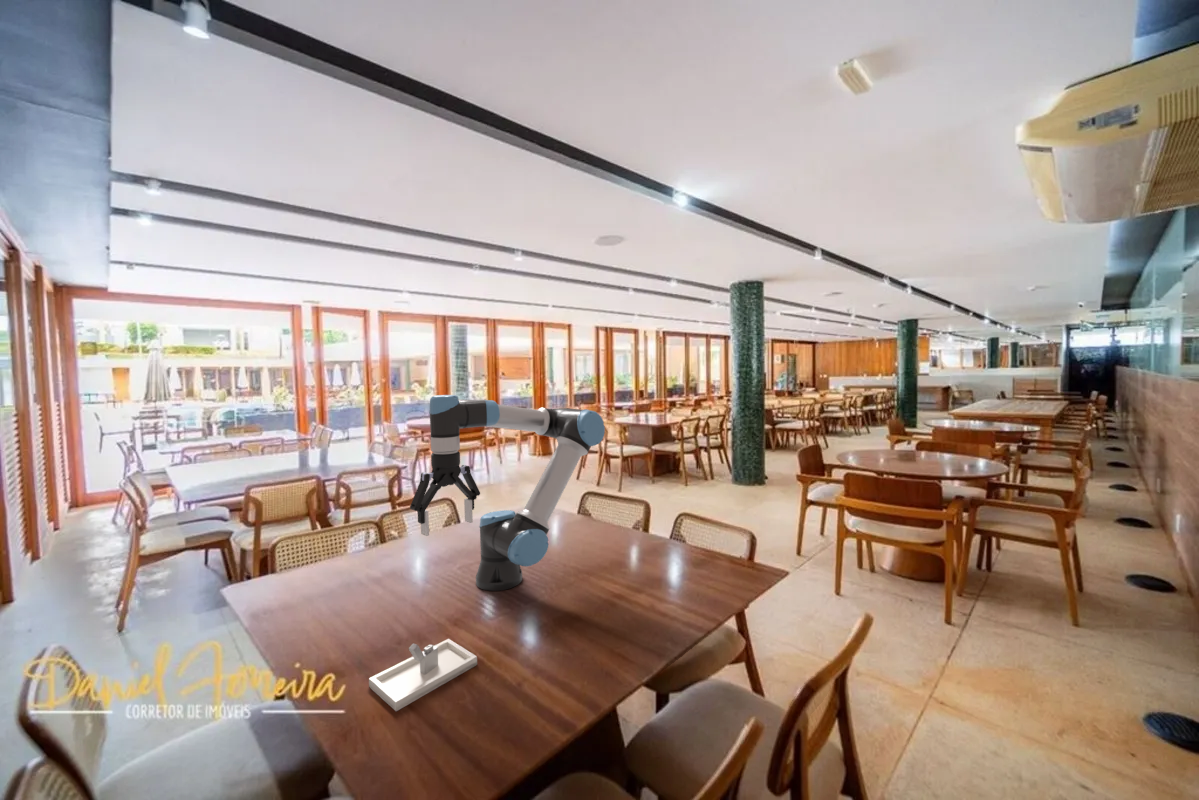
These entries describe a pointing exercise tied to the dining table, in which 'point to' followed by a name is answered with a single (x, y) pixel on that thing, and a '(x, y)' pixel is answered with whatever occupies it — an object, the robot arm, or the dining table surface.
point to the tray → (421, 675)
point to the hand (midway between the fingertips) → (447, 528)
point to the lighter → (425, 657)
